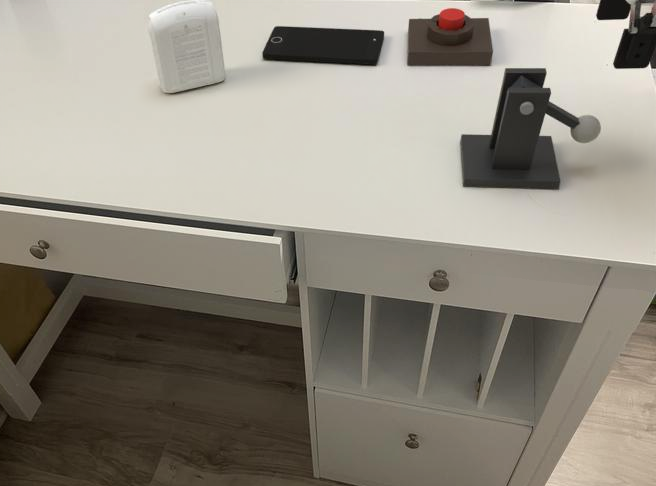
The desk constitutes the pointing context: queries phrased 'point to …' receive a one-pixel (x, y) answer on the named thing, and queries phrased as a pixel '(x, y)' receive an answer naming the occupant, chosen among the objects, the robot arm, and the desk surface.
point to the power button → (451, 19)
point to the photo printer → (186, 45)
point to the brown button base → (449, 43)
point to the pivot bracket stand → (513, 140)
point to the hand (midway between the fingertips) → (620, 41)
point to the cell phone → (324, 45)
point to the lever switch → (567, 117)
